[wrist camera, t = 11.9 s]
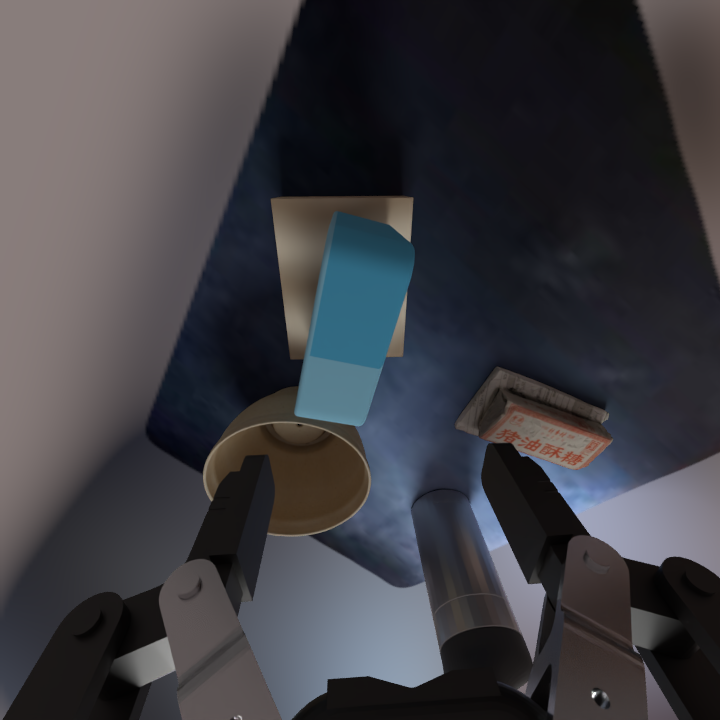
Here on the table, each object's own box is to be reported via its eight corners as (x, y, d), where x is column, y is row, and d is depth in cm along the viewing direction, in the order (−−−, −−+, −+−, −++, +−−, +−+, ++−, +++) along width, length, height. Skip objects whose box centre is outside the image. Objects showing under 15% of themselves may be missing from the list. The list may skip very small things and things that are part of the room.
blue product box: (355, 353, 31) (361, 437, 21) (309, 343, 31) (291, 426, 20) (389, 223, 26) (421, 249, 15) (334, 208, 25) (328, 225, 15)
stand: (395, 335, 36) (402, 356, 32) (296, 338, 36) (290, 359, 31) (402, 195, 30) (413, 197, 25) (281, 196, 29) (270, 198, 25)
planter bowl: (263, 472, 45) (241, 548, 36) (214, 376, 38) (171, 441, 28) (375, 450, 44) (383, 523, 35) (349, 348, 37) (351, 405, 27)
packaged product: (633, 431, 39) (576, 484, 43) (604, 407, 43) (555, 457, 47) (512, 384, 35) (463, 448, 39) (494, 362, 39) (451, 422, 43)
